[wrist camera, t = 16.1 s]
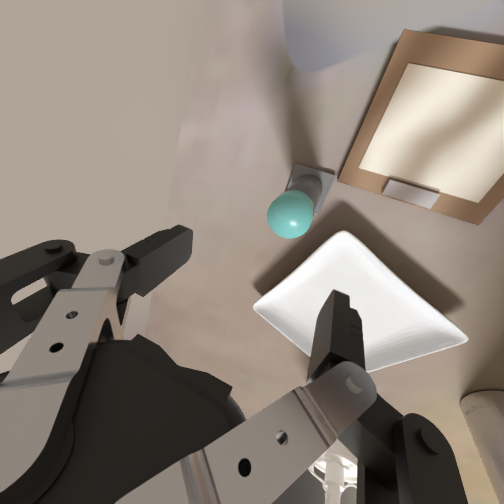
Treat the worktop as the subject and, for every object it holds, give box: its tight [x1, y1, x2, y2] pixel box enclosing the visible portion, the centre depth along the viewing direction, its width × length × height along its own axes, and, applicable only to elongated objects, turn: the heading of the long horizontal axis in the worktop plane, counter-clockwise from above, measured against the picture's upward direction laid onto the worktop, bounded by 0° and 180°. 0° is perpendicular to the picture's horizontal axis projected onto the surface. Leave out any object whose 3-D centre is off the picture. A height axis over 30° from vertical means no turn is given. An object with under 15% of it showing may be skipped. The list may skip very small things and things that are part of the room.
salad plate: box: [253, 230, 469, 373], centre depth 33 cm, size 21×21×3 cm
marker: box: [267, 174, 322, 238], centre depth 23 cm, size 4×4×11 cm
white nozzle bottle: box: [308, 439, 357, 504], centre depth 37 cm, size 10×9×20 cm
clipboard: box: [338, 29, 504, 225], centre depth 20 cm, size 15×13×1 cm
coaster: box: [287, 163, 335, 214], centre depth 27 cm, size 5×5×1 cm
